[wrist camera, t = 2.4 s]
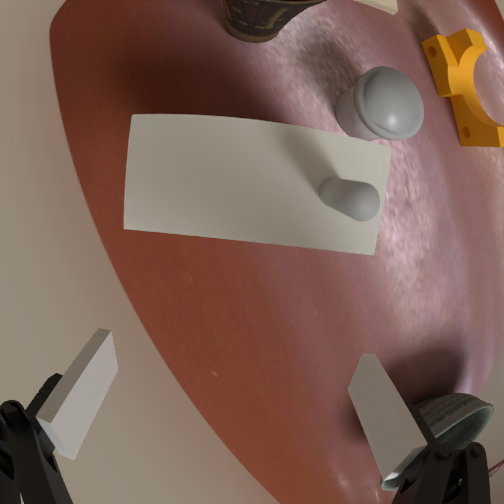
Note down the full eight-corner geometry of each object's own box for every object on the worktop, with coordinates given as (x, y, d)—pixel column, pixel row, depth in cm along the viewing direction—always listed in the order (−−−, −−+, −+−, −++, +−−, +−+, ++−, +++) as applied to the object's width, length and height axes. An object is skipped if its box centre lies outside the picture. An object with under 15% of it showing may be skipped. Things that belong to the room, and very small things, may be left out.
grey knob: (334, 79, 20) (359, 56, 15) (388, 95, 21) (423, 80, 15) (329, 137, 22) (356, 128, 16) (385, 150, 22) (422, 147, 16)
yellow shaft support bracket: (420, 43, 19) (454, 24, 12) (446, 47, 18) (480, 33, 12) (449, 147, 22) (490, 147, 16) (473, 145, 22) (512, 146, 16)
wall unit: (190, 140, 22) (97, 100, 7) (317, 155, 22) (432, 145, 7) (184, 196, 23) (89, 249, 8) (310, 210, 24) (406, 281, 9)
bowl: (381, 387, 31) (409, 442, 21) (483, 354, 31) (515, 388, 21) (351, 461, 37) (364, 503, 27) (442, 431, 37) (461, 463, 28)
